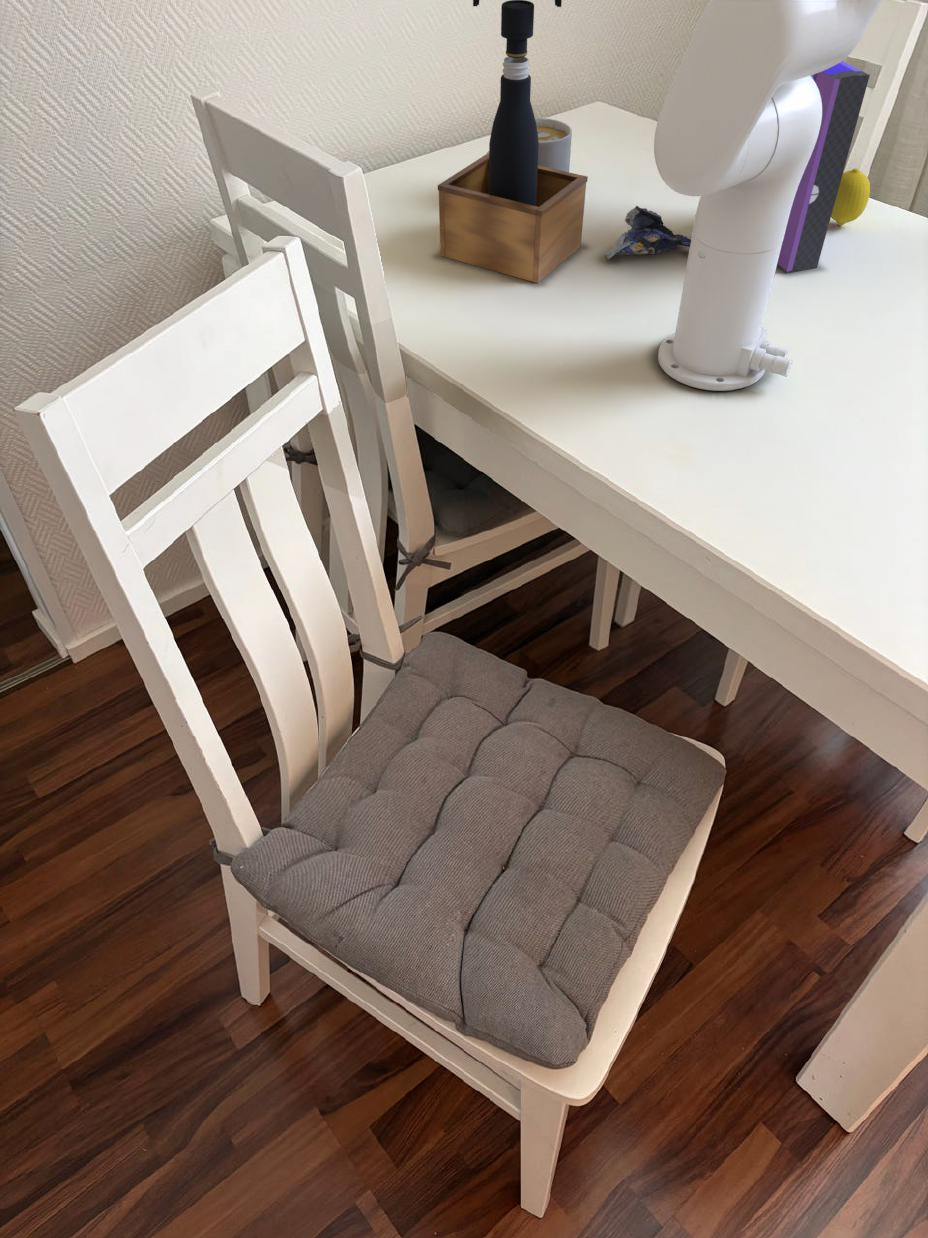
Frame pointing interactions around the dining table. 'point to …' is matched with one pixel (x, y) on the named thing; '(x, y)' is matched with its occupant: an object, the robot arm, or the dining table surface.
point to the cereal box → (823, 167)
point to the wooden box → (511, 222)
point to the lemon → (851, 197)
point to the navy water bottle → (515, 113)
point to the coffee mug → (553, 144)
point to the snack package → (646, 235)
